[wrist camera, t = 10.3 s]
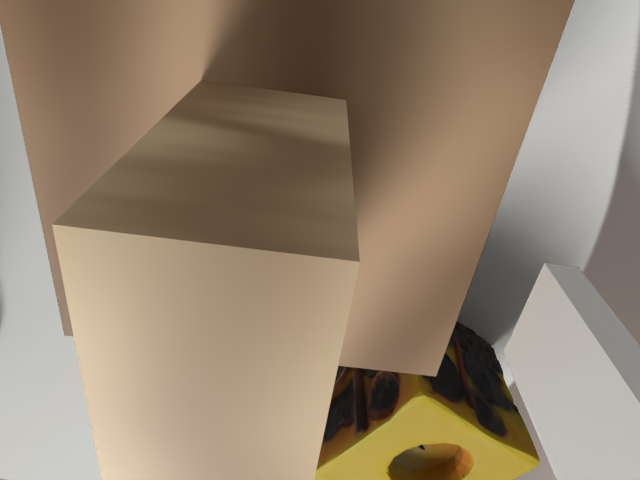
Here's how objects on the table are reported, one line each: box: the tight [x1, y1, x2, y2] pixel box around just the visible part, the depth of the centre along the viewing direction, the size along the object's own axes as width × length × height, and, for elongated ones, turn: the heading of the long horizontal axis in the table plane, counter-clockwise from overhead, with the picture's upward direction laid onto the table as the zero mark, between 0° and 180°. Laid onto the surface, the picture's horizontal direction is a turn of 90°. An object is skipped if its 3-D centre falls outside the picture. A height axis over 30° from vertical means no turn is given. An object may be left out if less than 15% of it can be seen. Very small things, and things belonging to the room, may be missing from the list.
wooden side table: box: [0, 0, 575, 480], centre depth 17 cm, size 14×14×21 cm
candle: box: [314, 321, 540, 480], centre depth 32 cm, size 10×10×10 cm
